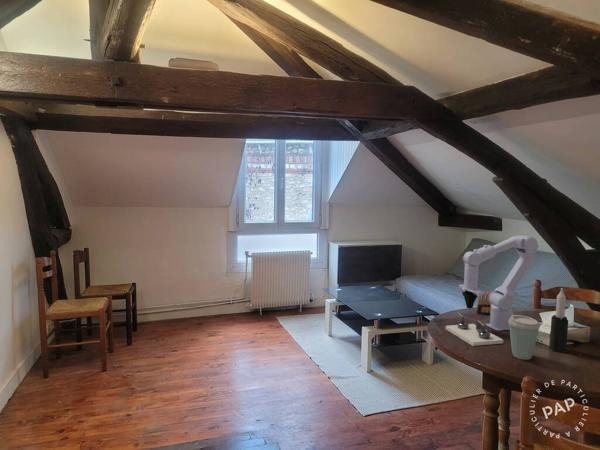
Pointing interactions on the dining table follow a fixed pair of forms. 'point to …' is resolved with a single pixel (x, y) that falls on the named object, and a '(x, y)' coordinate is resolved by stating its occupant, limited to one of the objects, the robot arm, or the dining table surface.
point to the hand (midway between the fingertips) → (469, 308)
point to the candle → (559, 326)
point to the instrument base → (473, 335)
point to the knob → (461, 321)
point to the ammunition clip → (484, 305)
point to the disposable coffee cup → (523, 335)
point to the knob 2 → (482, 330)
